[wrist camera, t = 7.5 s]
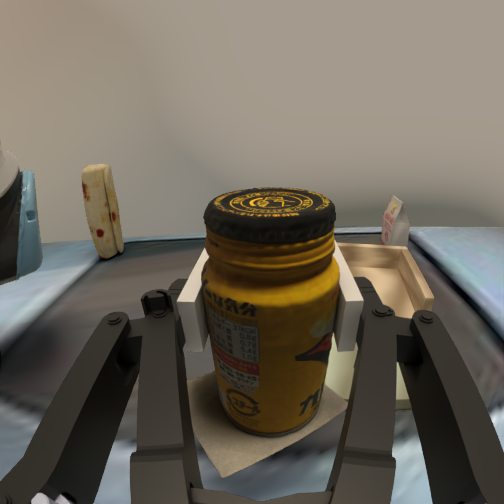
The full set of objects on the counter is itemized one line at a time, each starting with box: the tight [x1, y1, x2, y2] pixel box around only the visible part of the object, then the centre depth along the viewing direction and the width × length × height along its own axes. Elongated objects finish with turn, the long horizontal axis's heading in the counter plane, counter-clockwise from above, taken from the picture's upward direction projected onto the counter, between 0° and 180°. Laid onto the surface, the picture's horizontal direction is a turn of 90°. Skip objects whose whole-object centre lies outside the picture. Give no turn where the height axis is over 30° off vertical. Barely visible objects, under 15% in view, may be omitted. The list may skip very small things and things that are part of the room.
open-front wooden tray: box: [325, 243, 434, 409], centre depth 34 cm, size 20×28×5 cm
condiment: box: [187, 188, 348, 478], centre depth 14 cm, size 7×8×12 cm
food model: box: [82, 164, 124, 259], centre depth 56 cm, size 10×7×20 cm
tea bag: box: [381, 196, 410, 247], centre depth 55 cm, size 4×7×10 cm, turn 172°
